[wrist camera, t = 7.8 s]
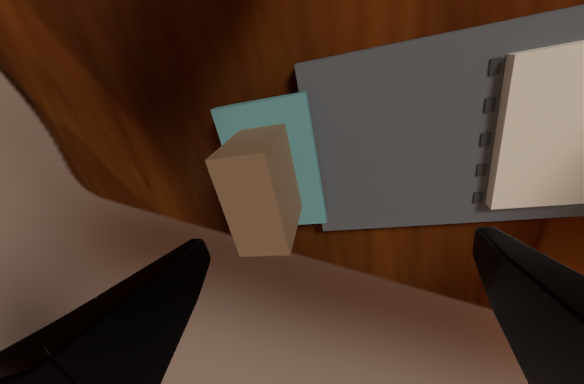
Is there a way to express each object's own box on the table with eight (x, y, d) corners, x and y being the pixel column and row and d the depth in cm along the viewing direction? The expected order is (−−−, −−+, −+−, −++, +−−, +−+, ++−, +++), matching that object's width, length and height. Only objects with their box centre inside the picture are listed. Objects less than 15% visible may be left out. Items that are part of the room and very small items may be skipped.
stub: (306, 91, 16) (290, 114, 11) (326, 216, 20) (321, 274, 15) (215, 107, 18) (165, 134, 13) (251, 222, 22) (223, 276, 17)
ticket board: (790, -39, 12) (865, -51, 10) (672, 199, 17) (707, 217, 16) (297, 63, 17) (291, 66, 15) (324, 222, 23) (322, 237, 21)
